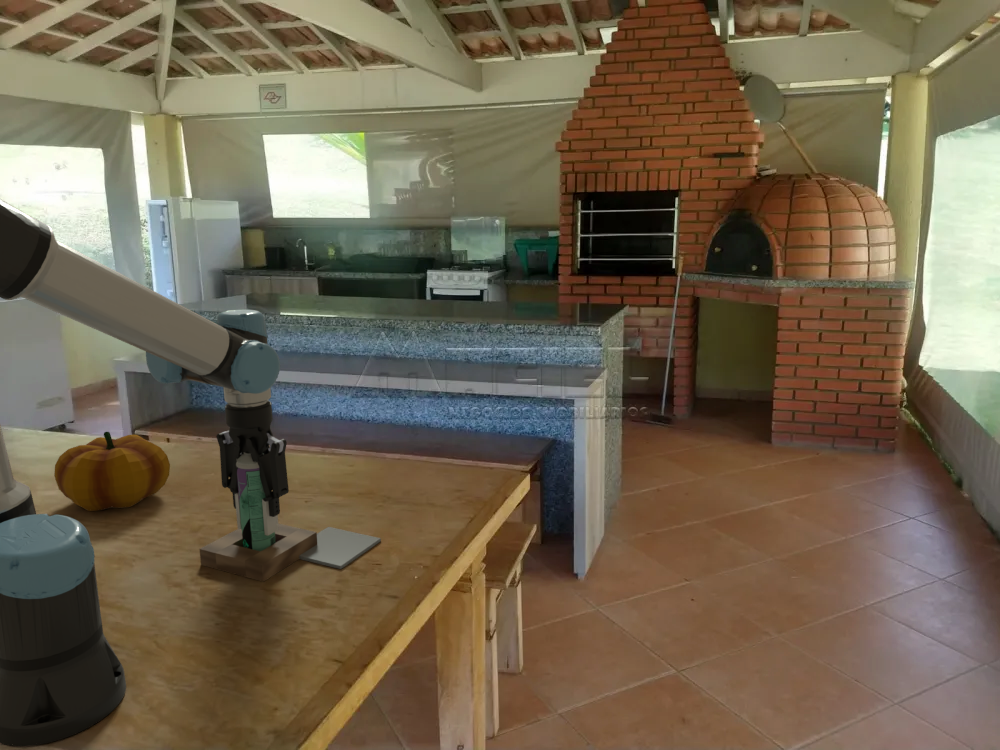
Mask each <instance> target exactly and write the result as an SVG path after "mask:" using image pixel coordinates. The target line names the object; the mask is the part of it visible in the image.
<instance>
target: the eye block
mask: <svg viewBox="0 0 1000 750" xmlns="http://www.w3.org/2000/svg"><path fill="white" fill-rule="evenodd" d="M278 526H279V530H277V531H276V532H275V542H276V543H274V544H273V545H271V546H269V547H268V548H266V549H264V550H262V551H261V552H260V551H256V550H252V549H248V548H244V547H243V539H242V529H238V528H237V529H235V530H232V531H231V532H229V533H227V534H226V535H223V536H221V537H219V538H217V539H216V540H213V541H212V542H210V543H208V544H206V545H204V546H202V547H200V548H199V549H198V550H199V557H200V565H201V566H204V567H207V568H208V567H209V568H211V569H215V570H219V571H223V572H226V573H230V574H234V575H237V576H241V577H245V578H247V579H251V580H255V581H259V582H265V581H267V580H269V578H271V577H273V576H275V575H277V573H279V572H281V571H283V570H284V569H285V568H287V567H289V566H291V565H293V564H294V563H295V562H297V561H298V560H300V559H299V556H300V555H301V554H303V553H304V552H306V551H308V550H309V549H311V548H312V547H314V546H316V545H317V533H318V532H317V531H315V530H310V529H304V528H299V527H295V526H292V525H287V524H282V523H278Z"/></svg>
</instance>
